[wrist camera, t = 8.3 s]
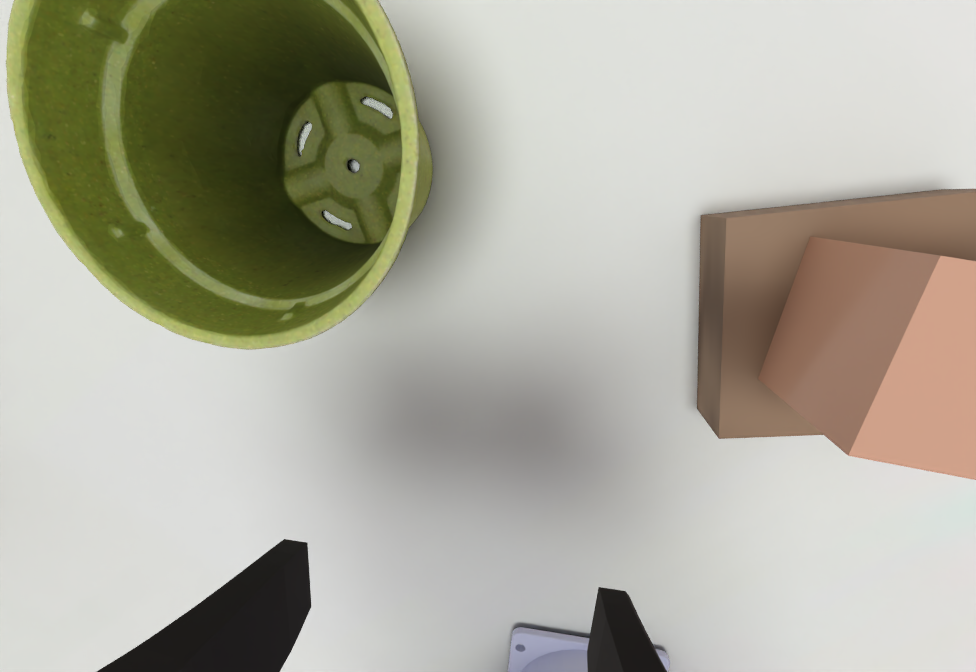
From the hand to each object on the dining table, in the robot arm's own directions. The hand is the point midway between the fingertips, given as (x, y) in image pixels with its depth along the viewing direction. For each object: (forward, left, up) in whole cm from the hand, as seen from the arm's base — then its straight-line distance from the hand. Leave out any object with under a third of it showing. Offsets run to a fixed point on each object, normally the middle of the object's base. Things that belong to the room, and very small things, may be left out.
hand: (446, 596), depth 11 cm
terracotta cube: (+6, -12, -7) cm, 16 cm away
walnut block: (+6, -12, -10) cm, 17 cm away
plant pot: (+10, +6, -10) cm, 15 cm away
